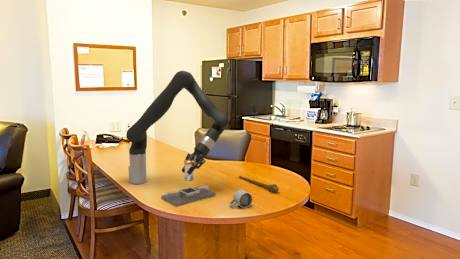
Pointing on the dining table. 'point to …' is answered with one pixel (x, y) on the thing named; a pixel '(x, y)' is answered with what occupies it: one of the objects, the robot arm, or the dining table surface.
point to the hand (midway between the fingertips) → (185, 172)
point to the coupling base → (188, 195)
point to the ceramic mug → (241, 199)
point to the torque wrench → (272, 188)
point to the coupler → (187, 166)
